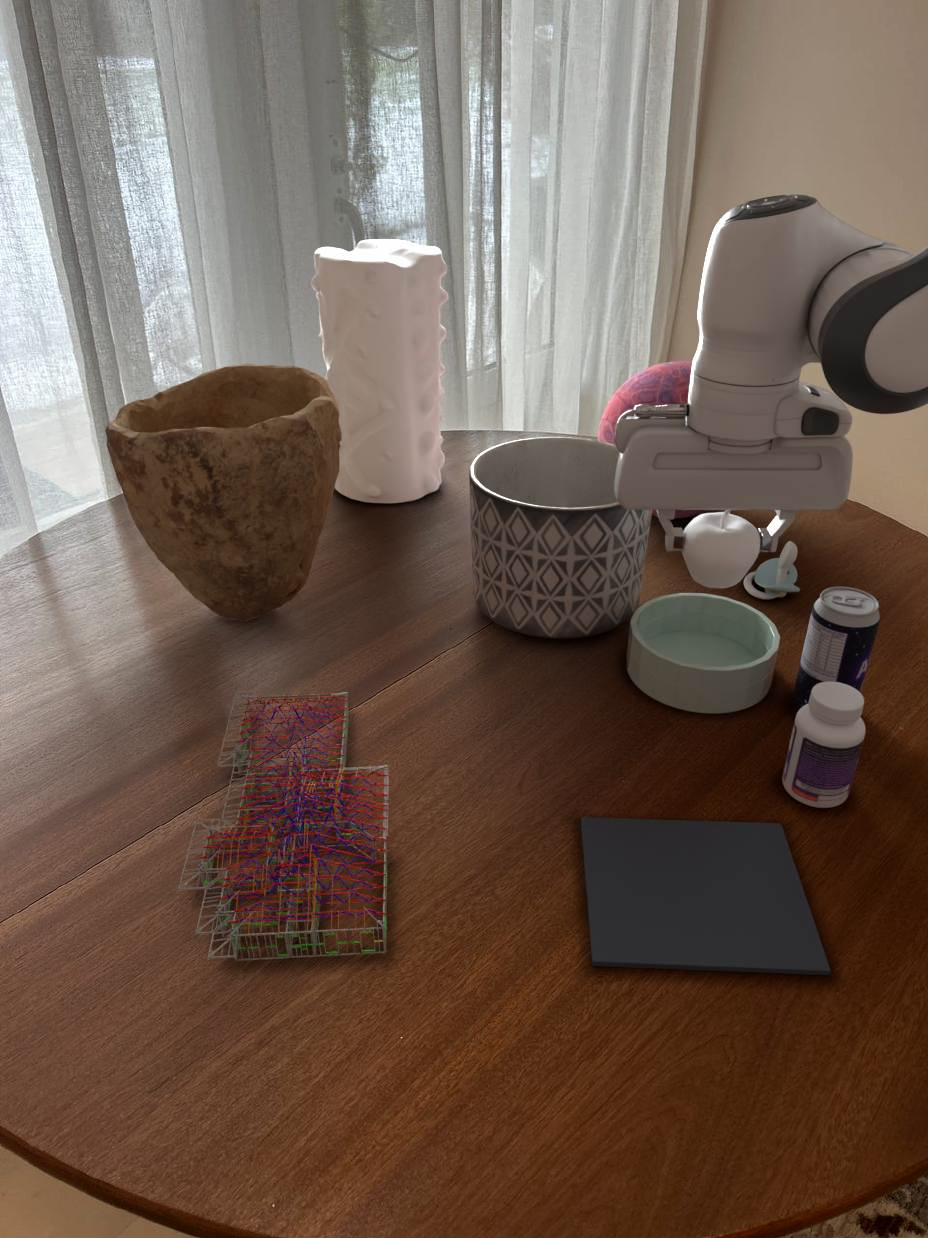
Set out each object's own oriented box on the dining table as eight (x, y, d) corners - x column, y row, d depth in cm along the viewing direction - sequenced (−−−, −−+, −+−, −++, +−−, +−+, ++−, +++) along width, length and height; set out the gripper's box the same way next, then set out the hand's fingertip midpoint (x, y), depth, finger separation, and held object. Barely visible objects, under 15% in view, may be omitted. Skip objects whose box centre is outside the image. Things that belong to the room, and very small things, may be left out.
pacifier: (743, 603, 105) (799, 607, 104) (750, 554, 102) (808, 558, 101) (741, 573, 111) (794, 576, 110) (748, 525, 108) (802, 529, 107)
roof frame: (232, 712, 88) (224, 666, 85) (391, 705, 89) (389, 660, 86) (164, 983, 62) (150, 931, 60) (389, 971, 63) (385, 919, 60)
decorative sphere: (567, 521, 123) (576, 372, 112) (627, 471, 137) (640, 335, 127) (713, 558, 114) (738, 399, 103) (761, 500, 128) (787, 356, 118)
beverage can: (853, 733, 85) (884, 621, 79) (789, 720, 87) (814, 609, 80) (854, 698, 89) (883, 590, 83) (792, 686, 91) (816, 579, 85)
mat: (780, 827, 75) (781, 823, 74) (829, 975, 63) (831, 971, 62) (580, 821, 75) (581, 816, 75) (592, 966, 63) (592, 961, 63)
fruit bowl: (753, 634, 99) (761, 594, 97) (786, 715, 87) (796, 672, 84) (620, 631, 100) (624, 591, 97) (634, 711, 88) (639, 668, 85)
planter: (491, 664, 95) (493, 517, 86) (454, 574, 111) (452, 443, 102) (668, 642, 98) (687, 499, 89) (607, 558, 114) (618, 430, 105)
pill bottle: (861, 802, 77) (889, 709, 72) (805, 816, 76) (829, 721, 71) (822, 762, 81) (845, 670, 76) (768, 773, 80) (788, 682, 75)
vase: (307, 481, 135) (284, 247, 118) (394, 452, 144) (384, 232, 127) (380, 517, 124) (366, 267, 107) (468, 484, 134) (468, 249, 117)
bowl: (203, 554, 115) (168, 353, 102) (375, 571, 112) (363, 364, 98) (108, 652, 97) (51, 421, 84) (312, 677, 93) (286, 439, 80)
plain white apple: (756, 601, 84) (769, 521, 80) (676, 594, 86) (685, 515, 81) (751, 565, 90) (764, 489, 86) (677, 559, 91) (685, 484, 87)
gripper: (620, 416, 77) (610, 564, 84) (872, 416, 76) (840, 565, 83) (614, 392, 82) (604, 533, 89) (849, 392, 81) (820, 534, 88)
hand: (719, 549), depth 86 cm, fingers closed on plain white apple, 7 cm apart
